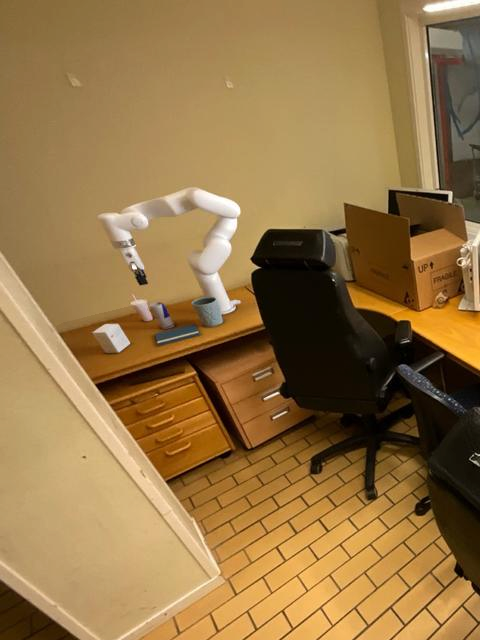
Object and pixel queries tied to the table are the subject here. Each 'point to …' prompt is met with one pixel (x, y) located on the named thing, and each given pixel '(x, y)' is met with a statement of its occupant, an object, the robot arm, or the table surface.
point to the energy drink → (162, 315)
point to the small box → (111, 338)
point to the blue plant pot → (208, 311)
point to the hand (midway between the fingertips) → (143, 281)
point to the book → (176, 334)
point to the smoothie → (142, 309)
